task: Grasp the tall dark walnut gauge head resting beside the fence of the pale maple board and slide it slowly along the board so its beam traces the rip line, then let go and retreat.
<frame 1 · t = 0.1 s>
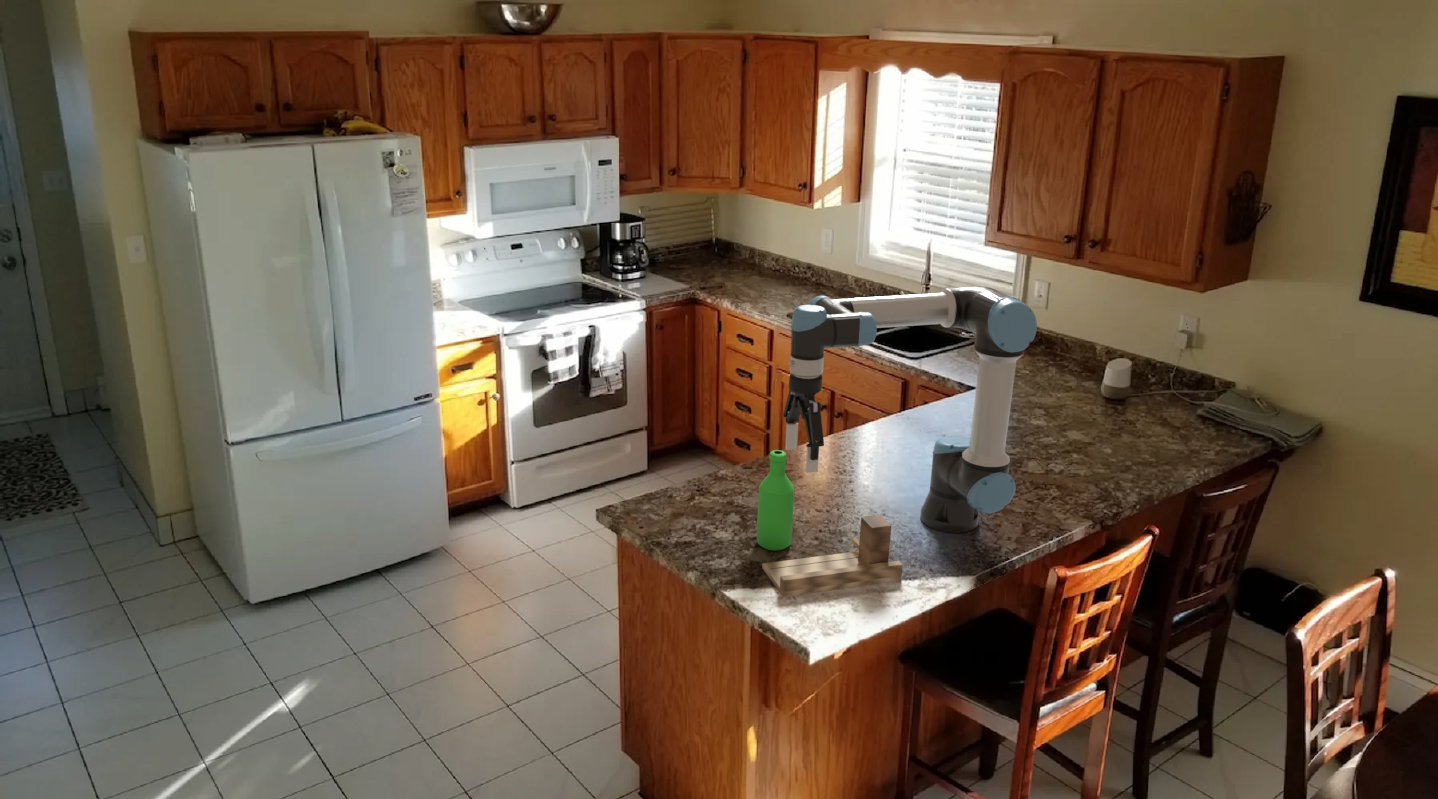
hand: (801, 460, 251), 28 cm above the counter, fingers open, 13 cm apart
board: (831, 574, 257), on the counter
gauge: (867, 536, 260), point 7 cm above the counter, slide at 0.0 cm
bottle: (773, 544, 271), on the counter
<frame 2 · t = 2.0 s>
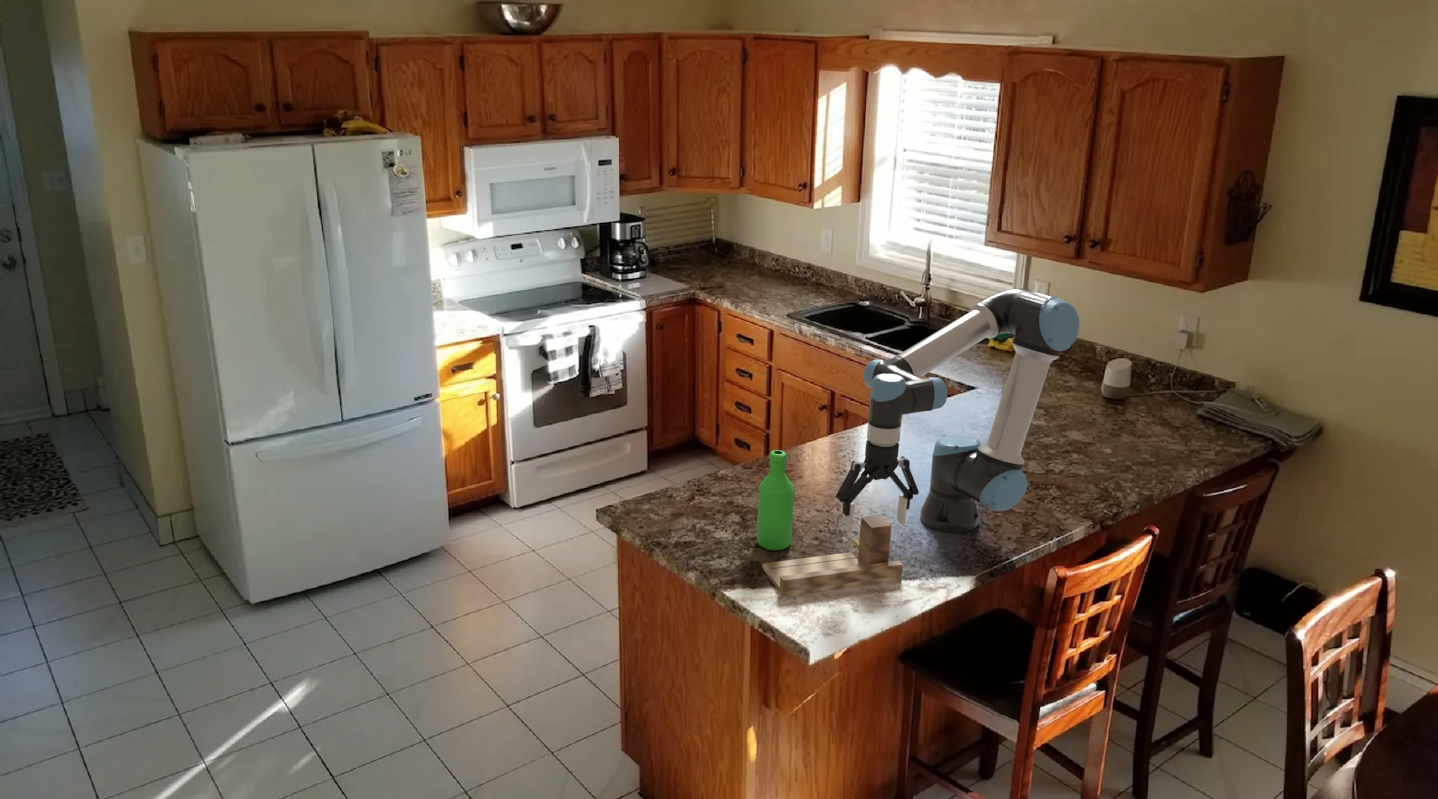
hand: (874, 524, 254), 13 cm above the counter, fingers open, 13 cm apart
nothing on the counter moved.
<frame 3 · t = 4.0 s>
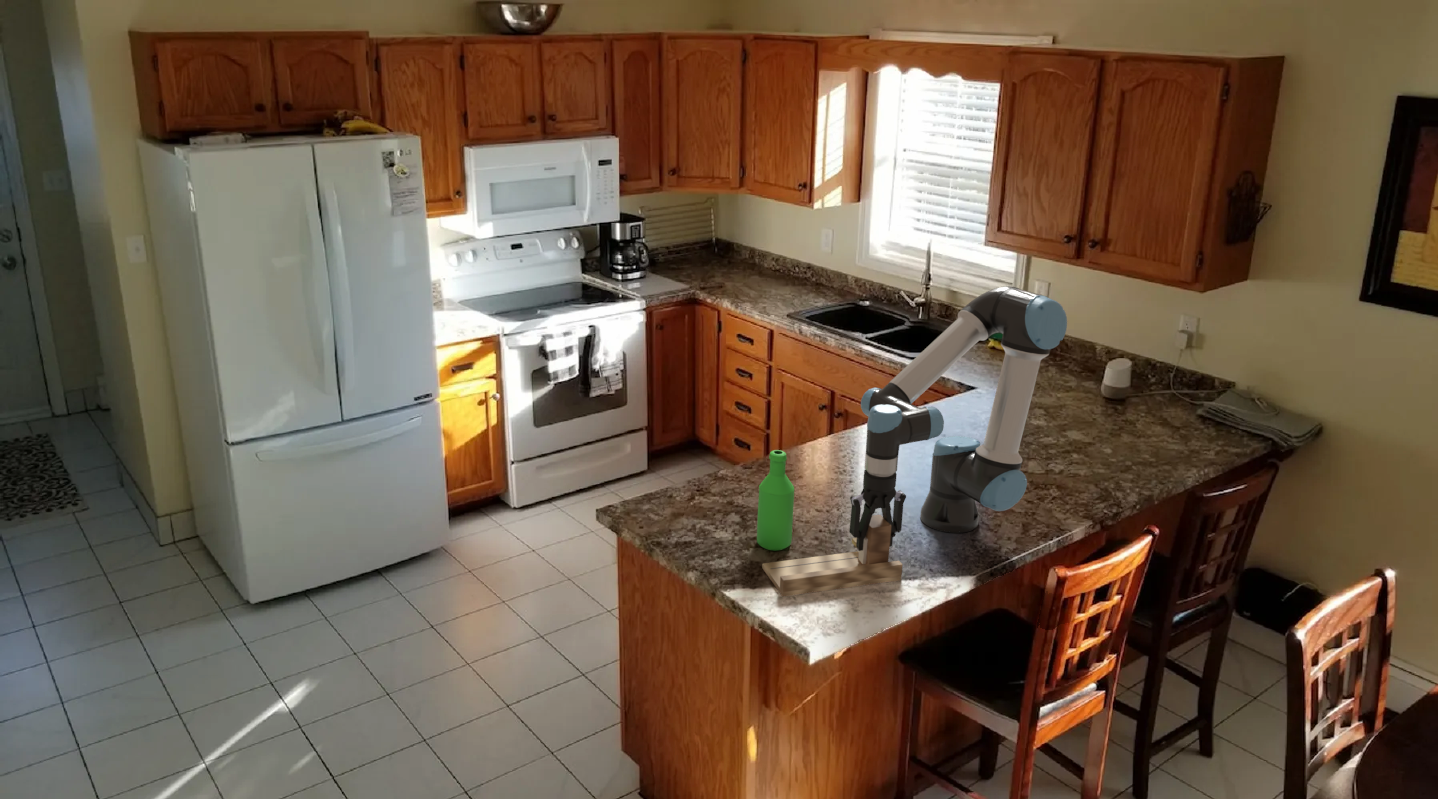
hand: (873, 559, 258), 3 cm above the counter, fingers closed on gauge, 5 cm apart
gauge: (867, 536, 260), point 7 cm above the counter, slide at 0.0 cm, touching gripper
everything else where it was.
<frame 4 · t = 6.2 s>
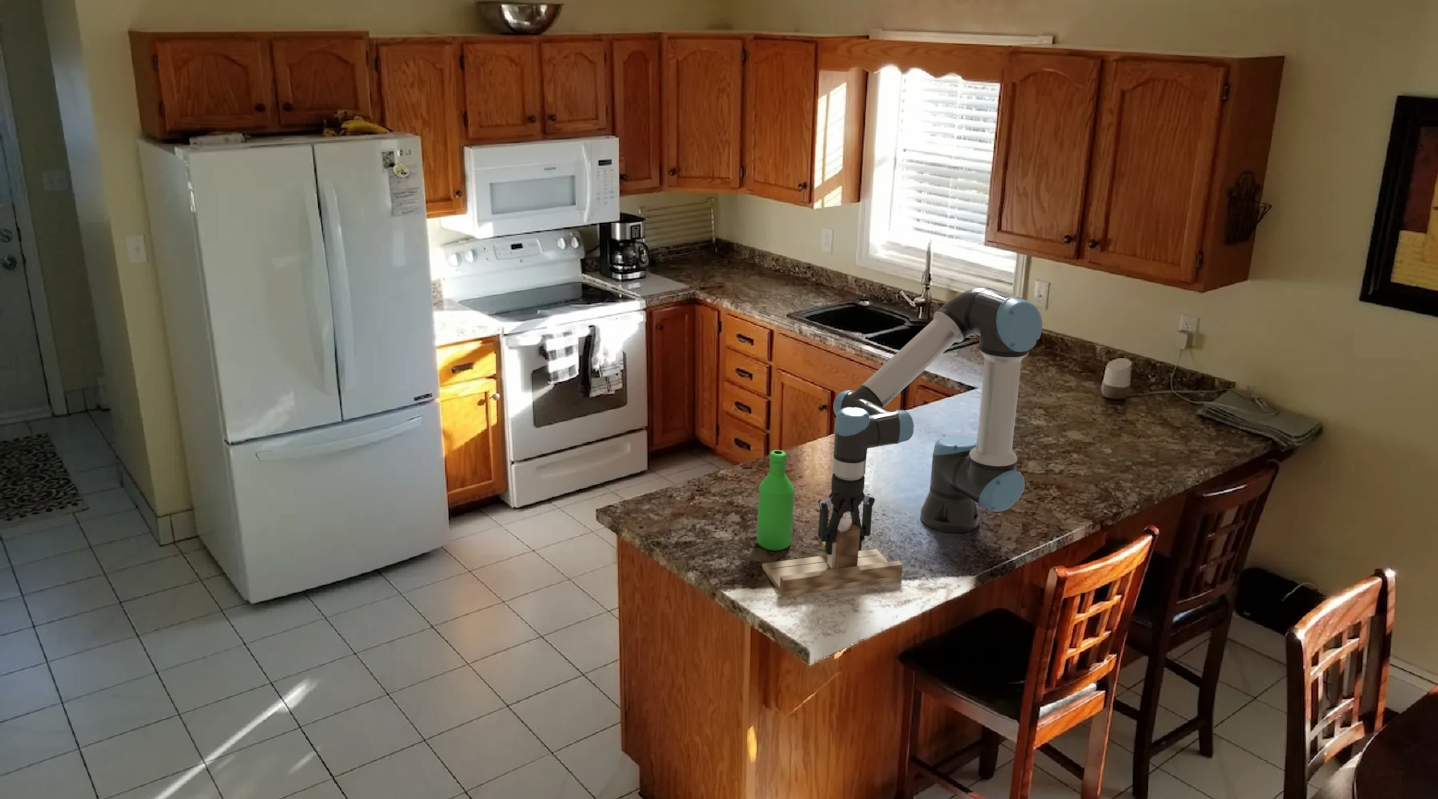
hand: (842, 563, 255), 3 cm above the counter, fingers closed on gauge, 5 cm apart
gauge: (836, 540, 257), point 7 cm above the counter, slide at 8.0 cm, touching gripper
everything else where it was.
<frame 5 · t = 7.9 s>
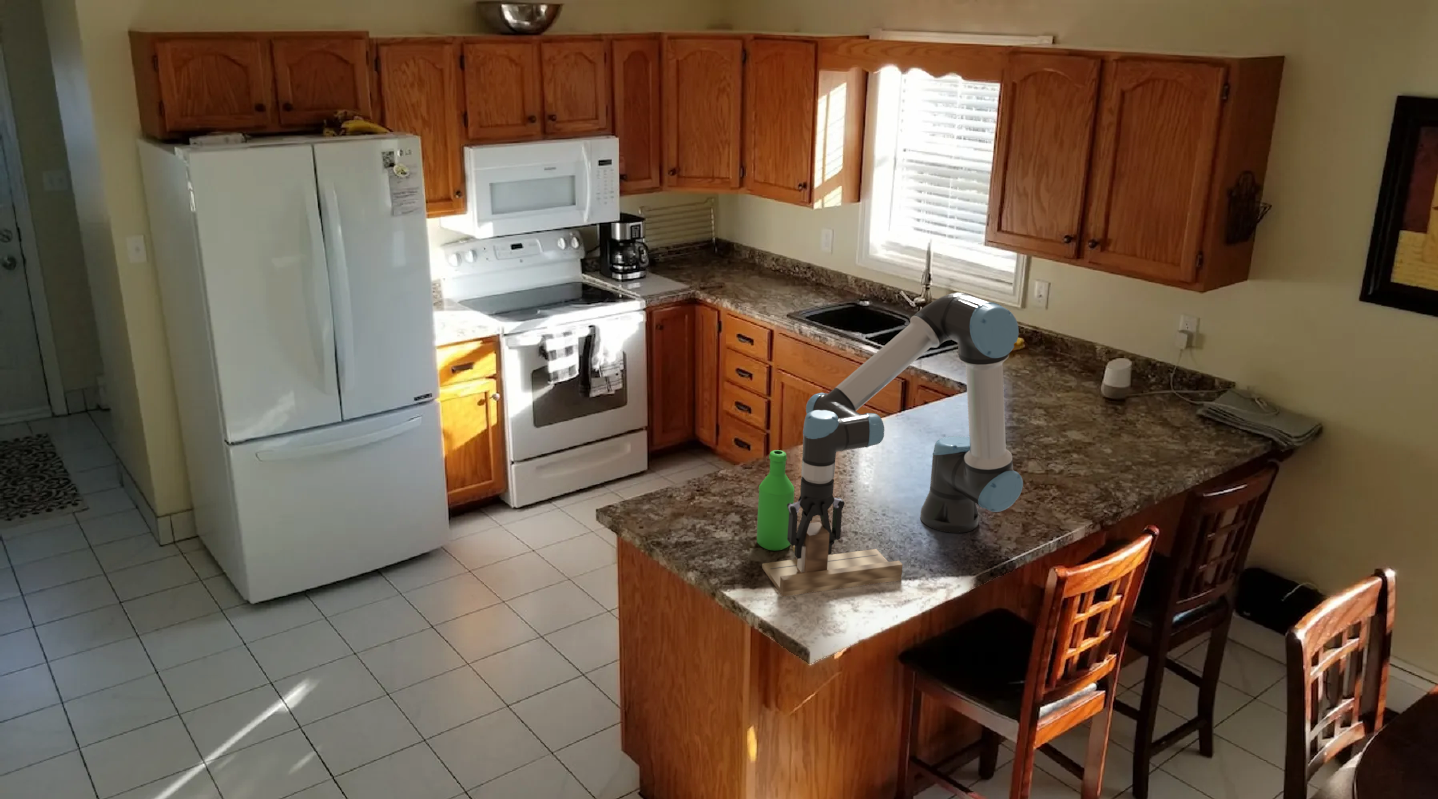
hand: (812, 567, 253), 3 cm above the counter, fingers closed on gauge, 5 cm apart
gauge: (806, 544, 255), point 7 cm above the counter, slide at 15.7 cm, touching gripper
everything else where it was.
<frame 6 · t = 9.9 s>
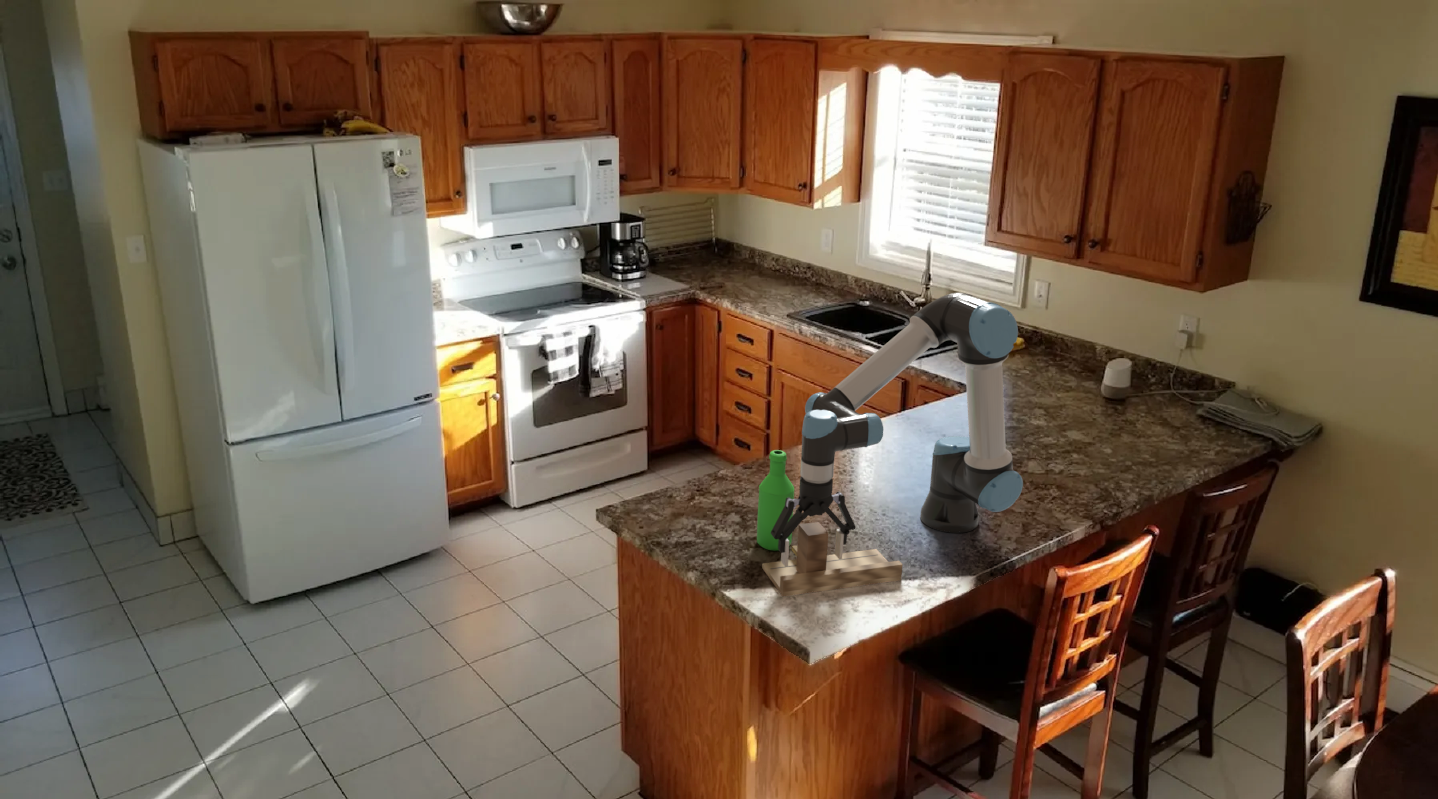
hand: (811, 560, 252), 5 cm above the counter, fingers open, 13 cm apart
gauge: (805, 544, 255), point 7 cm above the counter, slide at 16.0 cm
everything else where it was.
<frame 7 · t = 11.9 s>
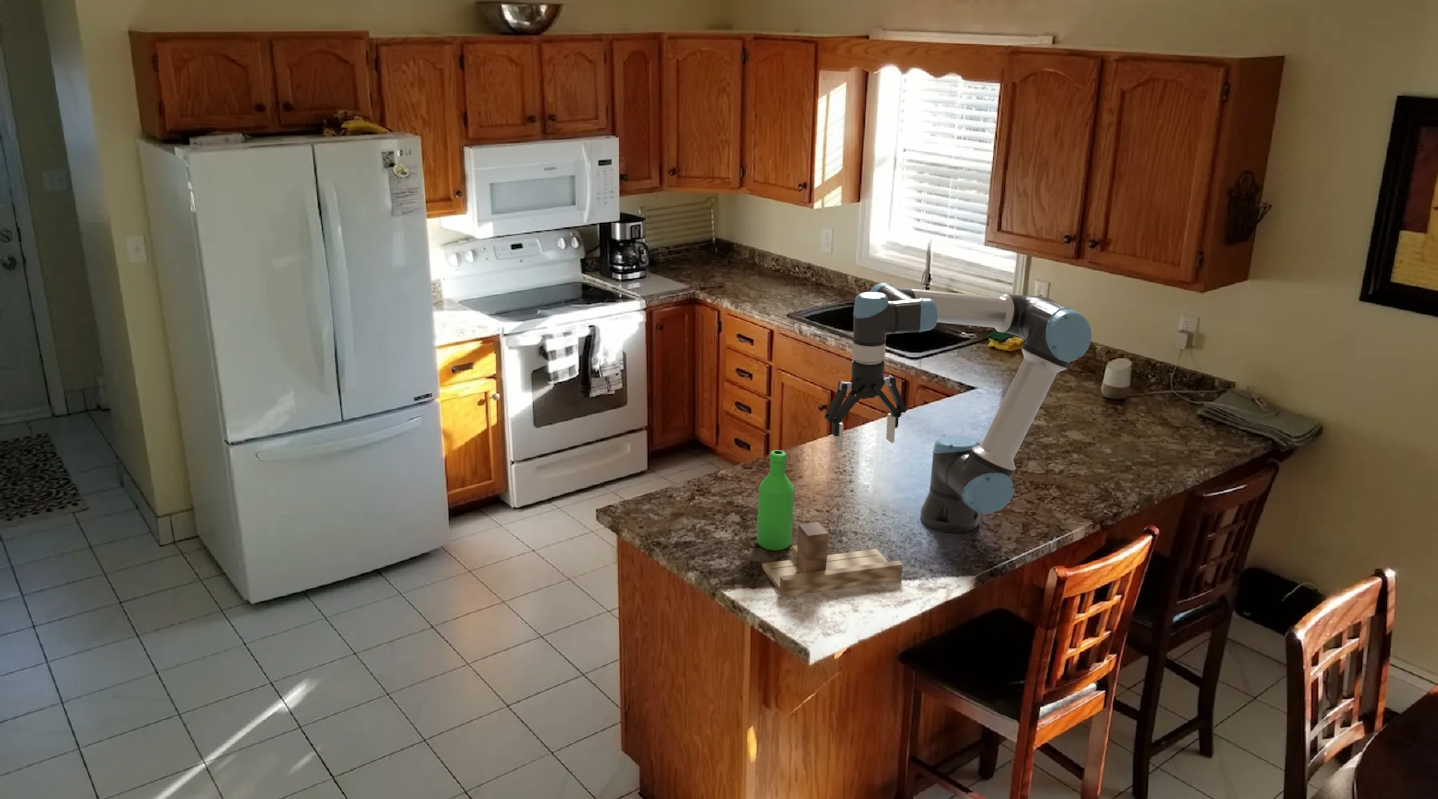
hand: (864, 444, 256), 30 cm above the counter, fingers open, 13 cm apart
nothing on the counter moved.
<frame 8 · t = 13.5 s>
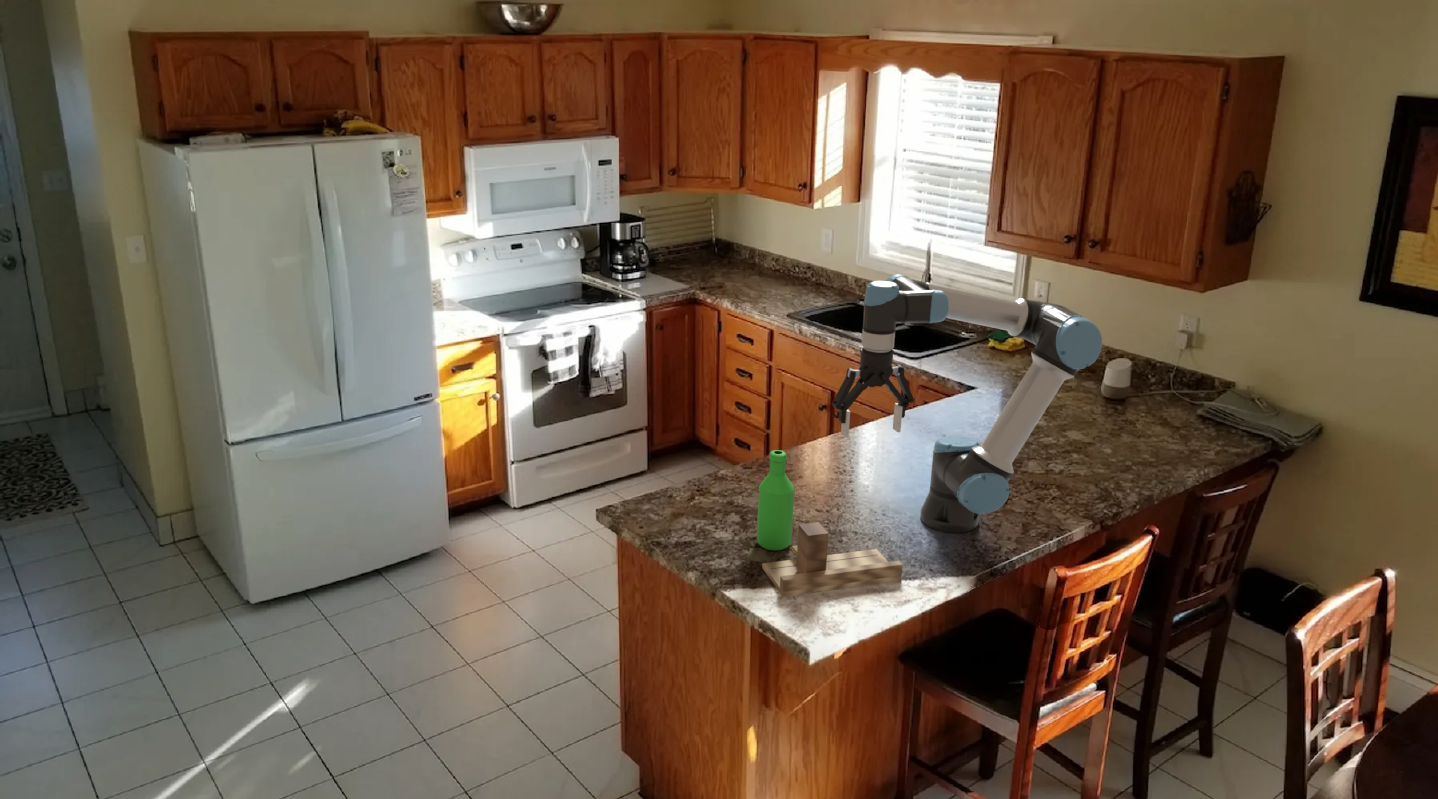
hand: (870, 432, 258), 32 cm above the counter, fingers open, 13 cm apart
nothing on the counter moved.
at the end: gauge slide at 16.0 cm; the gripper is holding nothing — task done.
